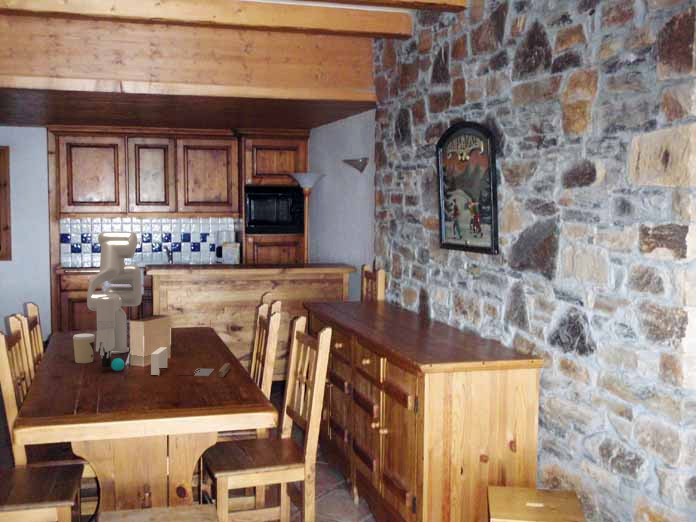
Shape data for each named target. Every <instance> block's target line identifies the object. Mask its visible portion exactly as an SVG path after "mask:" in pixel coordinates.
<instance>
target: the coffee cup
mask: <svg viewBox="0 0 696 522" xmlns="http://www.w3.org/2000/svg"><path fill="white" fill-rule="evenodd" d="M95 338H96V335H95V334H93V333H78V334H74V335H73V337H72V339H73V350H74V361H75V363H77V364H88V363H93V362H94V354H95V340H96V339H95Z"/></svg>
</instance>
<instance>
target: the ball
mask: <svg viewBox="0 0 696 522" xmlns="http://www.w3.org/2000/svg"><path fill="white" fill-rule="evenodd" d="M110 368H111V369H112V370H113V371H115V372H120V371H122V370H123V369H124V368H125V361H124V360H123V359H122V358H120V357H117V358H114V359H113V360H112V361H111V366H110Z"/></svg>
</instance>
